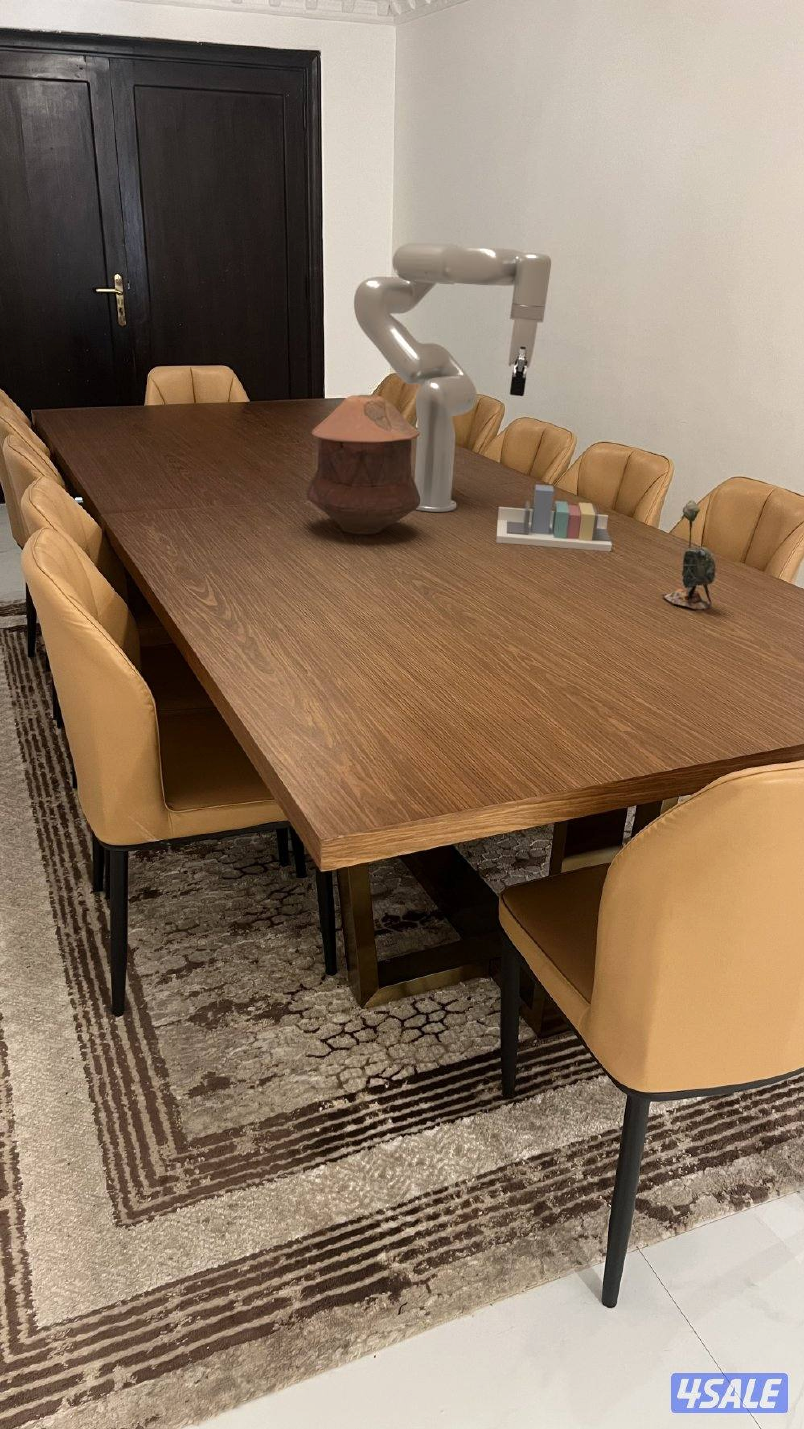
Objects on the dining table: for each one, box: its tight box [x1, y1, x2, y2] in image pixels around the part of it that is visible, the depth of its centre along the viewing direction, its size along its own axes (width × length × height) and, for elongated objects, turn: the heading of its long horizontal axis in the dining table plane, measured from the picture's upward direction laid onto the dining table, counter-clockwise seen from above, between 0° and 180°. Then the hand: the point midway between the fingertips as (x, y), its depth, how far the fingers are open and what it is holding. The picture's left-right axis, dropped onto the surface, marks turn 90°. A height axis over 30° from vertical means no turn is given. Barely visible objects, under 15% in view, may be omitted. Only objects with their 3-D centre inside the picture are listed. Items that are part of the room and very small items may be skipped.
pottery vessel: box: [305, 394, 420, 535], centre depth 228 cm, size 26×26×30 cm
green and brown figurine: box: [661, 500, 717, 611], centre depth 193 cm, size 8×11×20 cm
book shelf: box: [496, 500, 613, 552], centre depth 236 cm, size 26×16×8 cm, turn 84°
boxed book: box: [531, 484, 555, 534], centre depth 235 cm, size 4×6×10 cm, turn 174°
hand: (516, 392), depth 235 cm, fingers open, 9 cm apart
